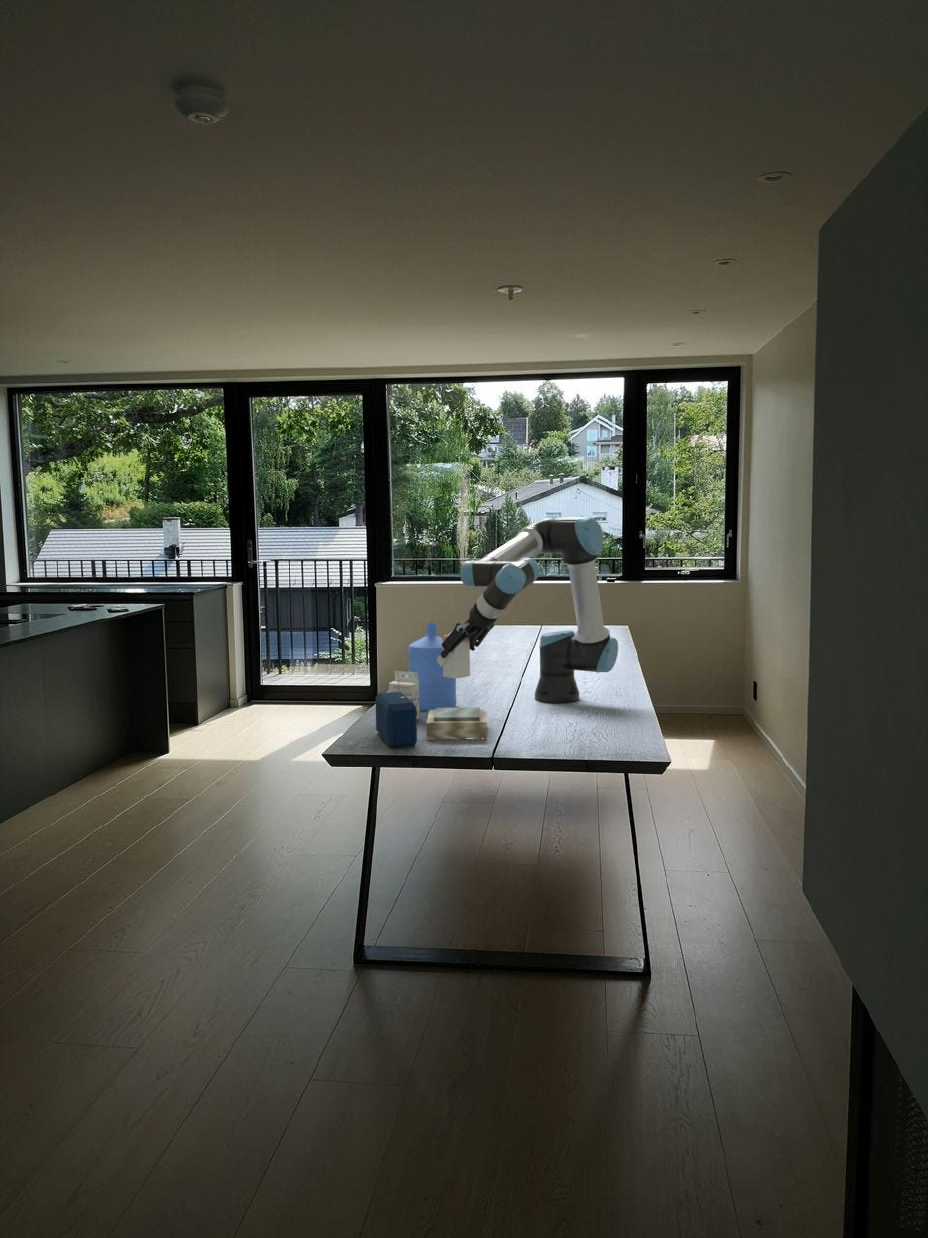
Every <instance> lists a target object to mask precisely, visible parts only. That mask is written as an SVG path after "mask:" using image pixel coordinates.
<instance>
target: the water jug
mask: <svg viewBox="0 0 928 1238" xmlns="http://www.w3.org/2000/svg"><path fill="white" fill-rule="evenodd" d="M426 627H427V628H426V636H424V637H421V638H420V639H418V640H416V641H413V642H412V643H410V644H409V645H408V651H407V652H408V653H407V656H408V657H407V658H408V672H417V673H418V682H419V712H424V711H426V713H429V711H430V710H436V708H456V706H457V688H456V687H457V686H456V683H457V678H456V679H454V678H448V677H443V667H440V665H439V663H438V662H437V660H436V659H437V658H438V657H439V655H440V654H441V652H442V651H443V647H442V645H441V644H442V643H443V641H442V636H441V637H440V636H439V635H438V634H437V623H436V622H427V623H426ZM408 677H409V678H410V677H411V676H409V675H408Z"/></svg>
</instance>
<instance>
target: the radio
mask: <svg viewBox="0 0 928 1238" xmlns="http://www.w3.org/2000/svg"><path fill="white" fill-rule="evenodd" d="M374 699H375V731H376V732H377V733H378V734H379V736H380V737H381V738H382V739H383V740H384V742H385V743H386V744H387V745H388V746H389V747H390V749H393V748H405V747H406V746H407V747H414V746H415V745H416V744H417V742H418V727H417V726H418V724H417V721H418V719H417V710H416V706H415V705H414V703H413V702H412V701H411V700H409V699H408V698H407V697H406V696H405V695H403V694H402V693H401V692H399V678H398V692H389V691H388V692H379V693H377V695H376V696H375V698H374Z"/></svg>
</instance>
